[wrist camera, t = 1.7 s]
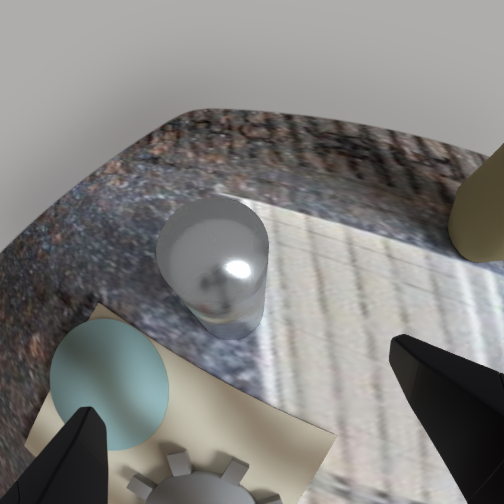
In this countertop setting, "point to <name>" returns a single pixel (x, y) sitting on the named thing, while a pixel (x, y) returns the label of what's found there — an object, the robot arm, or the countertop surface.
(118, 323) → the board
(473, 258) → the squeeze bottle
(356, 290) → the countertop surface
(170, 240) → the axle
